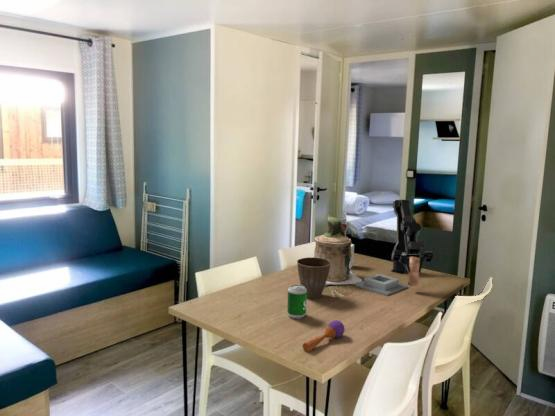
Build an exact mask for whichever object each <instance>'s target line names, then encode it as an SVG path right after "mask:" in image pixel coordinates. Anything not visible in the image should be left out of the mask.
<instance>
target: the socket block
mask: <svg viewBox="0 0 555 416" xmlns="http://www.w3.org/2000/svg"><path fill="white" fill-rule="evenodd" d="M354 287H356V288H359V289H361V290H362V289H363V290H365V291H369V292H372V293H376V294H379V295H383V296H390V295H392V294H395V293H397V292H400V291H402V290H405V289H407V288H408V284H404V283H403V284H402V283H400V278H395V277H392V276H388V275H385V274H380V273H377V274H376V273H375V274H373V275H370V276H366V277H364V278H363V280H362V282H360V283H357V284H354Z"/></svg>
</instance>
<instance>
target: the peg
mask: <svg viewBox="0 0 555 416" xmlns="http://www.w3.org/2000/svg"><path fill="white" fill-rule="evenodd" d="M408 263H409V267H410V272H408V278H407V286H410V287H418V285H419V276H420V273H419V264H420V258H419V257H410V260H409V262H408Z"/></svg>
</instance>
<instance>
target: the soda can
mask: <svg viewBox="0 0 555 416" xmlns="http://www.w3.org/2000/svg"><path fill="white" fill-rule="evenodd" d="M307 299H308V298H307V289H306V288H305V287H304V286H302V285H301V284H292V285H290V286H289V287H288V289H287V306H286V307H287V311H286V313H287V315H288V316H289V317H290V318H291V319H295V320H297V319H298V320H299V319H300V320H301V319H303V318H304V317H305V316H306V315H307Z"/></svg>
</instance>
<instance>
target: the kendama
mask: <svg viewBox="0 0 555 416" xmlns="http://www.w3.org/2000/svg"><path fill="white" fill-rule="evenodd" d="M345 329H346V328H345V325H344V324H343V322H341V321H340V320H336V319H335V320H332V321H331V322H329V324H328V325H327V327H326V329H325V331H324V334H323V335H321V336H317V337H315V338H313V339H311V340H309V341H306V342H304V343H302V349H303V351H304V352H306V353H310V352H311V351H313V349H314V348H315V347H317V346H318V345H320V343H321V342H323V341H324V340H325V339H326V338H328V339H335V338H340V337H342V336H343V335H344V333H345Z"/></svg>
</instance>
